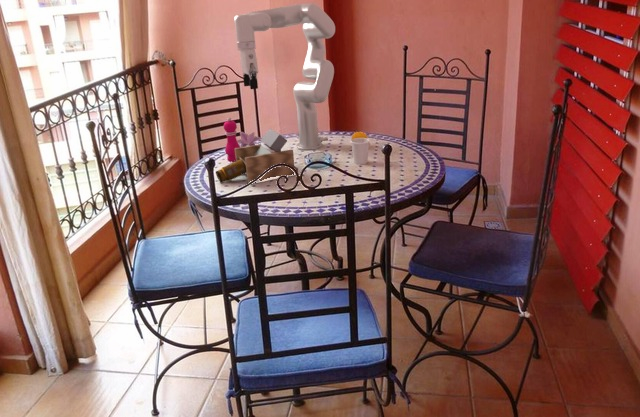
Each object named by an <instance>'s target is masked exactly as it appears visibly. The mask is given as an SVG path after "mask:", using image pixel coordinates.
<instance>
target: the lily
mask: <svg viewBox="0 0 640 417" xmlns="http://www.w3.org/2000/svg"><path fill="white" fill-rule="evenodd" d="M255 134H256V133H255V132H252V133H250V134H249V133H248V134H247V133H246V132H243V131H240V132H239V136H240V139H236V140H237V142H238V144H240V147H246V146H252V145H256V142H258V141H259V140H260V141H261V139H262V138H263V137H261V136H255Z"/></svg>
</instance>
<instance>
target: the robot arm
mask: <svg viewBox="0 0 640 417" xmlns="http://www.w3.org/2000/svg"><path fill="white" fill-rule="evenodd" d="M233 20H234V28H235V37H236V45H237V50H238V51H239V55H240V56H239V58H240V65H241V66H240V67H241V68H240V69H241V72H242V79H243V86H244V87H249V89H250V90H256V89H257V90H258V89H259V86H258V85H259V84H258V76H257V74H258V73H259V65H258V61H257V60H258V58H257V54H256V48H257V47H256V38H255V37H256V36H255V32H266V31H268V30H269V29H282V28H283V29H284V28H288V27H292V26H297V25H302V33H303V35H304V37H305V40H306V42H307V51H306V55H305V58H304V63H303V66H302V71H301V73H302V76H303V78H305V79H306V80H307V81H306V80H305V81H304V80H303V81H298V82H297V83H295V85H294V87H293V89H292V90H293V92H292V93H293V94H292V95H293V98H294V101H295V102H294V103H295V105H296V114H297V128H298V138H299V139H298V141H299V143H297V144H296V149H298V150H303V151H308V150H309V151H310V150H312V151H313V150H316V149H317V150H318V149H320V148H322V147H323V143H322V142H327V141H329V137H328V136H319V124H318V110H317V106H316V104H323V103H324V102H325V101H326V100H327V98H328V97H329V92H330V90H331V86H332V83H333V79H334V76H335V75H334V74H335V68H334V65H333V63H332V62H331V61H330V60H328V59H325V56H326V46H325V43H324V41H323V39H331V38H332V37H333V36H334V35H335V33H336V25H335V23H334V21H333V20H332V19H331V17H330V16H329V15H328V14H327V12H325V11H324V10H323V9H322V7H320V6H319V5H318V4H316V3H315V2H314V3H309V2H308V3H296V4H291V5H284V6H279V7H273V8H269V9H263V10H257V11H251V12H246V13H244V14H237V15H235V16H234V19H233ZM308 80H310V81H308Z"/></svg>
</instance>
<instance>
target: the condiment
mask: <svg viewBox="0 0 640 417" xmlns="http://www.w3.org/2000/svg"><path fill="white" fill-rule="evenodd" d="M239 158H240V157H239ZM246 173H247V171H246V163H245V161H244V160H243V159H242V158H240V160H238V161H234V162H232V163H231V162H230V163H229V164H227V165H225V166H223V167H221V168H220V169H218V170H216V171H215V175H216V177H217V179H218V182H219V183H220V184H223V183H225V182H229V181H231V180H233V179H236V178H238V177H240V176H242V175H244V174H245V175H246Z"/></svg>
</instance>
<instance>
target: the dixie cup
mask: <svg viewBox="0 0 640 417" xmlns="http://www.w3.org/2000/svg"><path fill="white" fill-rule="evenodd" d="M367 138H368V137H367ZM367 138H356V139H352V140H350V144H351V149H352V155H353V156H352V157H353V163H354V164H355V165H358V166H359V165H360V166H361V165H366V164H368V160H369V158H368V157H369V149H370V142H371V140H370V139H369V138H368V139H367Z"/></svg>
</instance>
